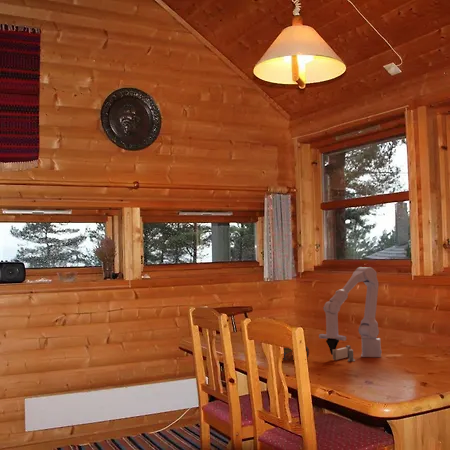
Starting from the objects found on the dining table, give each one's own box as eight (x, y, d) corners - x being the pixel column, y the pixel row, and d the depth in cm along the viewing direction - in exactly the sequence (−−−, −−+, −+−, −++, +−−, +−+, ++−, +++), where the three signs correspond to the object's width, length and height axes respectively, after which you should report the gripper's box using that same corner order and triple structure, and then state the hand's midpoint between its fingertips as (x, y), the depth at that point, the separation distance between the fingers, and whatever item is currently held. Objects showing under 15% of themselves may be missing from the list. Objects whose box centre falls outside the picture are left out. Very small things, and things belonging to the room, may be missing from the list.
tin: (278, 360, 304) (278, 342, 304) (281, 358, 307) (280, 341, 307) (308, 361, 297) (307, 344, 297) (310, 360, 300) (309, 343, 300)
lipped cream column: (344, 356, 306) (344, 346, 307) (348, 357, 305) (347, 347, 305) (332, 359, 299) (332, 349, 300) (336, 359, 298) (335, 349, 298)
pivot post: (353, 356, 308) (352, 345, 309) (352, 357, 304) (352, 346, 304) (344, 356, 310) (343, 345, 310) (343, 357, 305) (343, 346, 306)
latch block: (355, 359, 299) (354, 349, 300) (354, 361, 294) (354, 350, 295) (348, 359, 300) (348, 349, 300) (347, 361, 295) (347, 350, 295)
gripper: (315, 326, 304) (315, 354, 304) (340, 328, 294) (341, 357, 294) (323, 324, 309) (324, 352, 309) (348, 326, 299) (349, 354, 299)
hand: (332, 354), depth 301 cm, fingers closed
